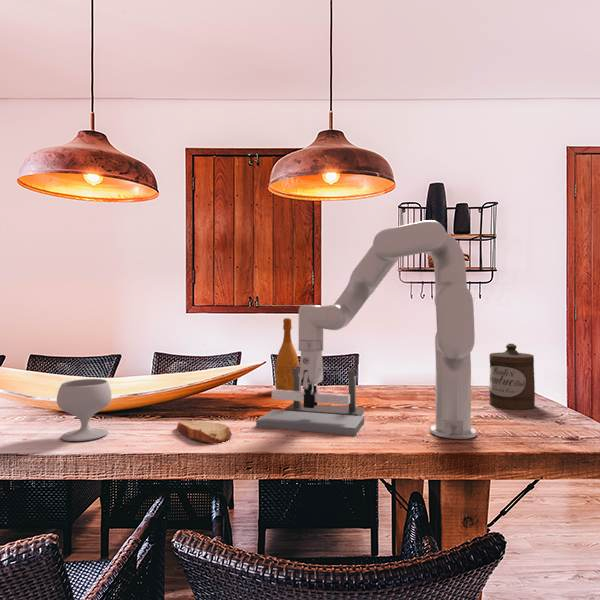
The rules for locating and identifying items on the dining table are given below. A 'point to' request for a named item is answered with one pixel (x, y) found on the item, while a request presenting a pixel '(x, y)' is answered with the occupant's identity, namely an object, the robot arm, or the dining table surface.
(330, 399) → the rail
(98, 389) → the chalice
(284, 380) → the wine bottle
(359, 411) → the rack
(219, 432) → the bread slice
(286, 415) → the board
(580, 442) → the dining table surface
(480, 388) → the dining table surface
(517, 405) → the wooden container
